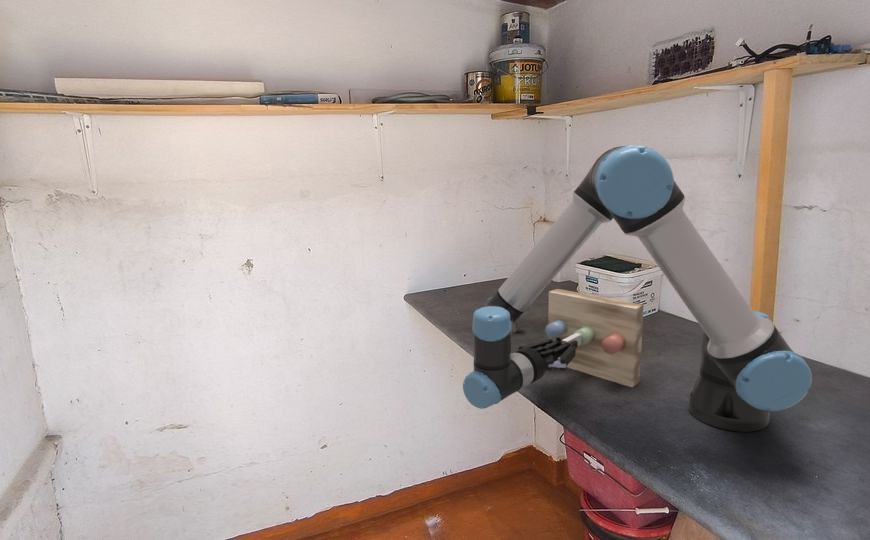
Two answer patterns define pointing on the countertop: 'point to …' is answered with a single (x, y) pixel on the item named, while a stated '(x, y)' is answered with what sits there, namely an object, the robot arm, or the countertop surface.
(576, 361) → the button panel
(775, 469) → the countertop surface
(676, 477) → the countertop surface
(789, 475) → the countertop surface
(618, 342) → the brick red button
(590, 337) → the sage green button
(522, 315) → the mechanical component
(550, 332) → the slate blue button
